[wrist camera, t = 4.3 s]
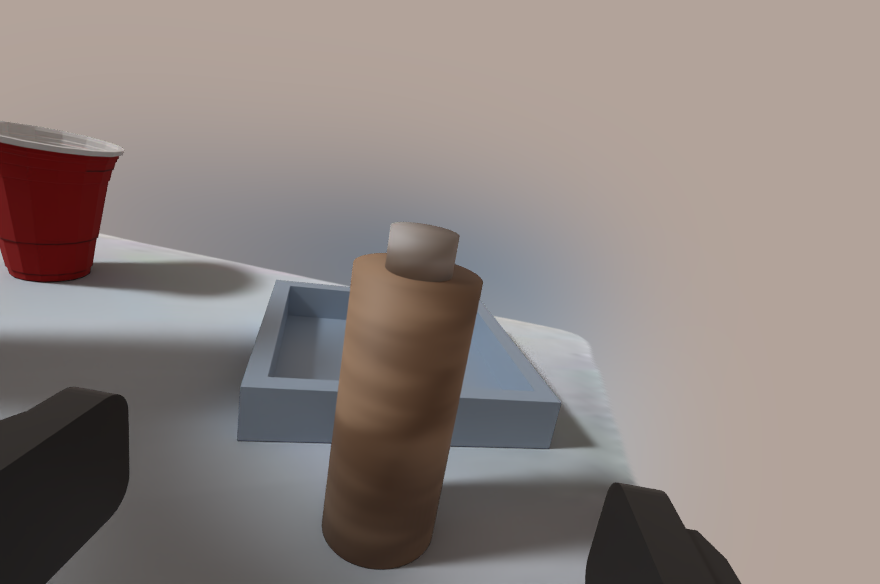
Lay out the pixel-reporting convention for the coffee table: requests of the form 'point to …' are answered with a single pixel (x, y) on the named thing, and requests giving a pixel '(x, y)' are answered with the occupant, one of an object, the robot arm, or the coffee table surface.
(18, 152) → the plastic cup
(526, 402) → the bin
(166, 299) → the coffee table surface
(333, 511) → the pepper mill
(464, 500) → the coffee table surface
